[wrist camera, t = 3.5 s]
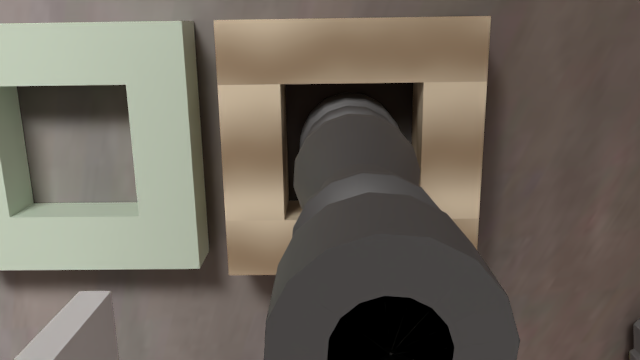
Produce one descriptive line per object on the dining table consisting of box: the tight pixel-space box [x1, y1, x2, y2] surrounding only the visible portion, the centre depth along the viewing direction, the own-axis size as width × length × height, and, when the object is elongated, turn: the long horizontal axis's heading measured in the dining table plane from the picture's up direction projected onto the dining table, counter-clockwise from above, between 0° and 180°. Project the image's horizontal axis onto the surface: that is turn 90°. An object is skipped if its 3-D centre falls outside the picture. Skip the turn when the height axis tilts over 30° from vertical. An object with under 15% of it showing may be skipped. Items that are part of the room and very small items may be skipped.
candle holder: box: [264, 92, 520, 360], centre depth 25 cm, size 6×6×25 cm
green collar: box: [0, 21, 209, 270], centre depth 36 cm, size 15×15×3 cm
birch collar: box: [214, 16, 491, 275], centre depth 35 cm, size 15×15×4 cm
